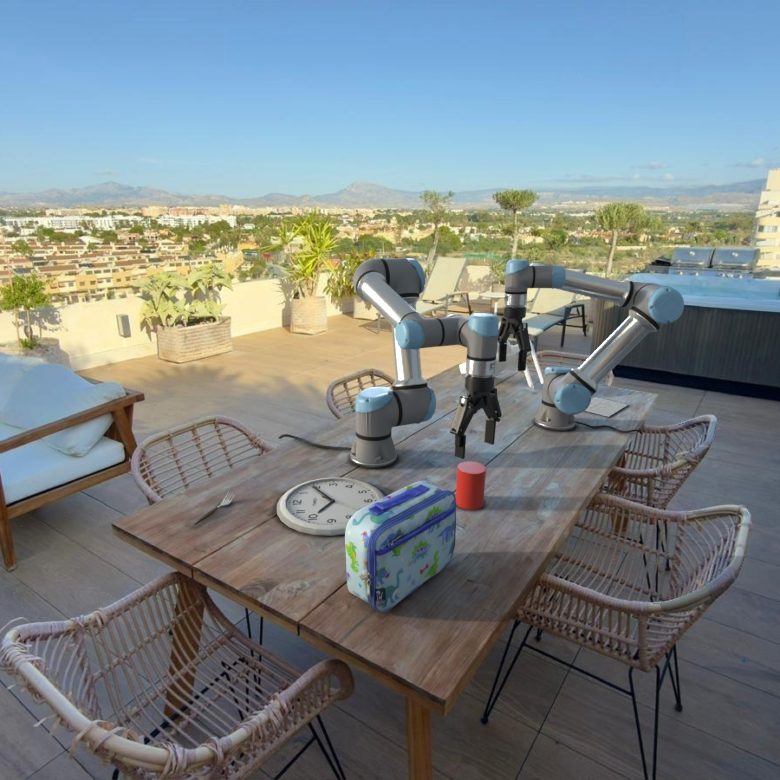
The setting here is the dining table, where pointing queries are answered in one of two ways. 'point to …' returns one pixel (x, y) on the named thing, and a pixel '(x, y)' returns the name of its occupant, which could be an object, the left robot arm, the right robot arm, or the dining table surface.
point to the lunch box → (399, 543)
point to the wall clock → (325, 504)
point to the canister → (470, 485)
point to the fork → (223, 503)
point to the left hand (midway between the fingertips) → (474, 450)
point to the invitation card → (604, 406)
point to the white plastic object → (510, 359)
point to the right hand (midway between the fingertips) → (511, 366)
